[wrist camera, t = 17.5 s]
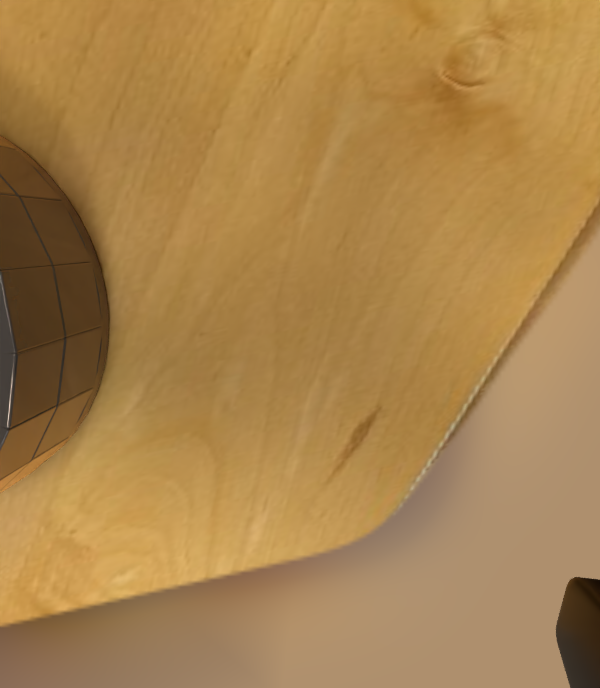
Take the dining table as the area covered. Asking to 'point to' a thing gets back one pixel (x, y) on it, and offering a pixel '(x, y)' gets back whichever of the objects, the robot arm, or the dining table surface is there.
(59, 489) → the dining table surface
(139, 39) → the dining table surface
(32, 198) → the pot
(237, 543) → the dining table surface
